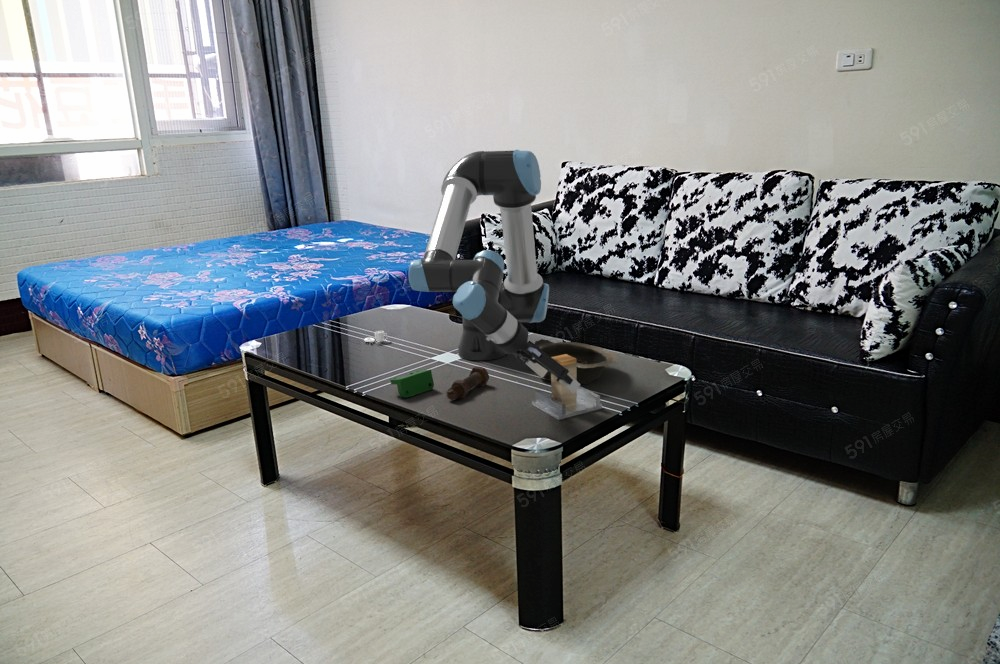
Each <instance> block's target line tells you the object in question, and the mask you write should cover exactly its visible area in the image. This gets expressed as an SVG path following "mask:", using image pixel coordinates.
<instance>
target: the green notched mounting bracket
mask: <svg viewBox="0 0 1000 664" xmlns="http://www.w3.org/2000/svg"><path fill="white" fill-rule="evenodd" d="M389 380H390V385H396V387H397V392H398V395H399V396H401V397H400V398H410V397H414V396H417V395H419V394H421V393H425V392H427V391H431V390H433V389H434V387H435V384H434V383H435V382H434V378H433V373H432V369H420V370H419V369H418V370H415V371H412V372H409V374H407V375H403V376H395V377H393V378H390V379H389Z"/></svg>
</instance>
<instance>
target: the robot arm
mask: <svg viewBox="0 0 1000 664" xmlns="http://www.w3.org/2000/svg"><path fill="white" fill-rule="evenodd" d="M539 164H540V163H539V161H538V159H537V156H536V155H535V154H534V153H533V151H531V150H520V149H515V150H488V151H487V150H486V151H483V150H479V151H474V152H471V153H469V154H467V155H465V156H464V157H461V158H460V159H459V160H458V161H457V162H455V164H453V165H452V166H451V168H450V169H449V170H448V171H447V173H446V175H445V177H444V179H443V181H442V184H441V189H440V192H441V195H442V197H441V199H440V200H441V201H440V202H439V207H438V209H437V213H436V216H435V219H434V222H433V226H432V229H431V232H430V236H429V239H428V243H427V245H426V249H425V252H424V254H423V257H422V259H421V258H418V259H413V260H412V261H411V262H410V263H409V266H408V272H407V273H408V283H409V285H410V287H411V289H412V290H413V291H416V292H425V293H426V292H427V293H430V292H431V293H433V292H434V293H436V292H437V293H440V292H441V293H444V292H447V293H450V292H451V293H452V292H453V293H454V292H455V293H454V295H453V297H452V304H453V308H454V309H456V310H457V311H458V312H459V314H460V315H461V316H462V334H461V337H460V340H459V344H458V346H457V348H458V349H457V350H458V352H457V353H458V356H459V357H460V358H462V359H465V360H468V361H490V360H491V361H492V360H497V359H500V358H503V357H505V356H506V355H512V354H513V355H514V357H515V358H516V359H517V360H521V362H522V363H525V365H527V366H528V367H529V368H530V369H531V370H532V371H533V372H535V374H537V375H538V377H539V376H540V377H539V378H541V377H542V378H543V377H544V375H545V374H546V373H547V371H549V372H550V373H552V374H553V375H554V376H556V377H557V380H556V381H558V382H559V381H560V382H561V383H562V384H563V385H564V386H565V387H567V388H568V389H569V390H570V391H571V392H572V393H575V392H576V390H577V389H578V387H579V386H581V385H582V384H580V383H578V382H577V381H576V380H575V379H574V378H573V377H572V376H571V375H570V374H569V373H568V372H569V370H568V369H566V368H564V367H563V366H562V365H561V364H559V363H558V362H557V361H555V360H554V359H553V358H551V357H550V356H549V355H548V354H546V353H545V352H544V351H543V350H541V349H540V348H539V347H538V346H535V345H534V344H535V342H532V341H531V340H529V330H528V329H527V327H525V326H524V325H523V324H522V323H529V324H531V323H541V322H543V321H544V320H545V319H546V315H547V311H548V304H549V296H550V295H549V294H550V285H549V284H548V283H544V279H543V277H542V276H541V275H540V274H539V273H538V269H537V268H538V267H537V258H536V247H535V236H534V234H535V233H534V223H533V212H532V204H533V203H534V202H535V201H536V198H537V195H539V194H540V193H541V189H542V188H541V187H542V186H541V185H542V182H541V181H542V179H541V176H542V175H541V170H540V165H539ZM478 196H492V198H493V203H494V205H496V206H497V207H498V208H499V211H500V220H501V227H502V236H503V244H504V245H503V246H504V251H505V252H504V253H505V261H504V258H503V257H502V255H501V254H499V253H498V252H497V251H494V250H489V249H486V250H485V249H483V250H482V251H479V252H477V253H476V254H475V255H474V257H473V258H472V259H456V257H457V253H458V250H459V246H460V243H461V240H462V236H463V233H464V228H465V225H466V223H467V218H468V215H469V211H470V208H471V205H472V204H473V203H475V201H476V199H477V198H478ZM505 263H506V269H507V270H506V271H507V276H506V277H505V279H504V281H503V278H504V276H505V275H504V270H505ZM542 378H541V379H542Z"/></svg>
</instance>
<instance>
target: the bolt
mask: <svg viewBox="0 0 1000 664" xmlns="http://www.w3.org/2000/svg"><path fill="white" fill-rule="evenodd" d="M489 379H490V375H489V372H488V371H487V370H486V368H485V367H483V366H474V367H473V368H472V369H471V370H470V373H469V375H468V376H467V377H465V378H464V379H462V380H461V379H456V380H454V381H453V382H452V384H451V387H450V388H448V389H447V390H446V391H445V392H446V393H445V394H446V398H447V399H449V400H451V401H455V400H457V399H458V398H460V399H461V398H462V399H464V398H465V397H467V396H468V394H469V391H470V390H472V389H473V388H475V387H476V386H479V387H484V386H486V385H487V384H488V382H489Z"/></svg>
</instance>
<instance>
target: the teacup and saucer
mask: <svg viewBox="0 0 1000 664" xmlns="http://www.w3.org/2000/svg"><path fill="white" fill-rule="evenodd" d="M385 335H386V337H385ZM375 339H376V341H377V342H380V341H384V342H385V341H387V340H386V339H388V333H386V332H385V331H384V330H375V331H374V338H373V337H364V339H363V341H365V342H374V341H375ZM384 339H385V340H384ZM376 341H375V342H376ZM365 342H364V343H365ZM377 342H376V343H377Z"/></svg>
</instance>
